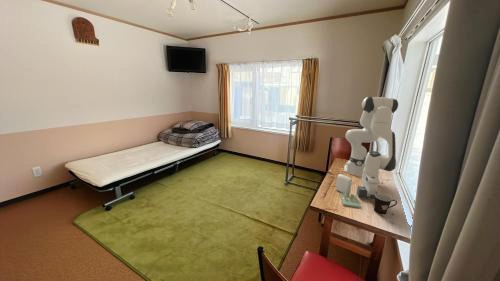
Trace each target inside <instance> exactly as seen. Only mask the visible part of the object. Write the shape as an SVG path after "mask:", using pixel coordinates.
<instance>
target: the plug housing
mask: <svg viewBox="0 0 500 281" xmlns="http://www.w3.org/2000/svg"><path fill="white" fill-rule="evenodd" d="M366 193H367V190H366V188H365V187H364V186H361V185H357V188H356V195H357V196H356V197H357V198H361V199H367V200H374V199H375V195H370V197H367V196H366ZM377 193H378V191H377V192H376V194H377Z"/></svg>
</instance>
